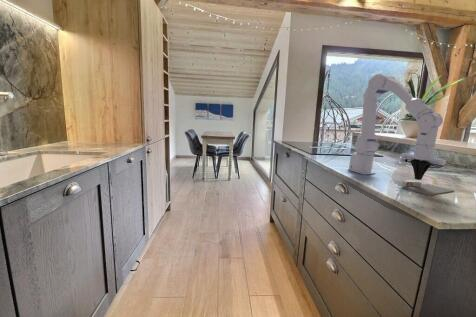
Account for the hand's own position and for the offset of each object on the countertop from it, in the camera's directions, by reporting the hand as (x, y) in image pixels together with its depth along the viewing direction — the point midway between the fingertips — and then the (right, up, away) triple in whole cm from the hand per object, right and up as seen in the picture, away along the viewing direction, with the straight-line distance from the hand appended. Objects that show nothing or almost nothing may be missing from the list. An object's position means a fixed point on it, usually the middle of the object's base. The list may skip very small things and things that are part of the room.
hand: (418, 179), depth 94 cm
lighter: (-2, -1, +3) cm, 4 cm away
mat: (+1, -4, -3) cm, 5 cm away
